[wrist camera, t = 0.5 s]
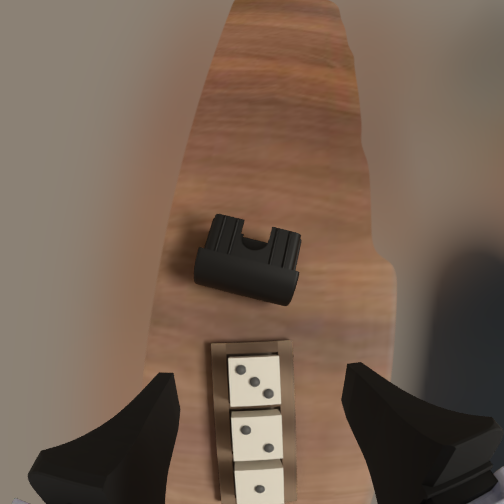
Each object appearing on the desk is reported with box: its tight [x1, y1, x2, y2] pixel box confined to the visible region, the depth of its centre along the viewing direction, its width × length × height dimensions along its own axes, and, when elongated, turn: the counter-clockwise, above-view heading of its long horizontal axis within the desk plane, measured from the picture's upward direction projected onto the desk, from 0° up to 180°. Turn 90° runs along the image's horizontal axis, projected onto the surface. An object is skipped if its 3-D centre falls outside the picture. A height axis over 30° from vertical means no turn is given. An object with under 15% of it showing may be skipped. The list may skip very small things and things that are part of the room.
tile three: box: [228, 355, 281, 407], centre depth 31 cm, size 5×5×3 cm
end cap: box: [194, 214, 301, 306], centre depth 34 cm, size 10×7×7 cm
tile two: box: [231, 409, 283, 461], centre depth 29 cm, size 5×5×3 cm
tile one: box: [235, 459, 284, 504], centre depth 27 cm, size 5×5×3 cm
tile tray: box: [211, 340, 297, 504], centre depth 31 cm, size 20×9×1 cm, turn 3°
